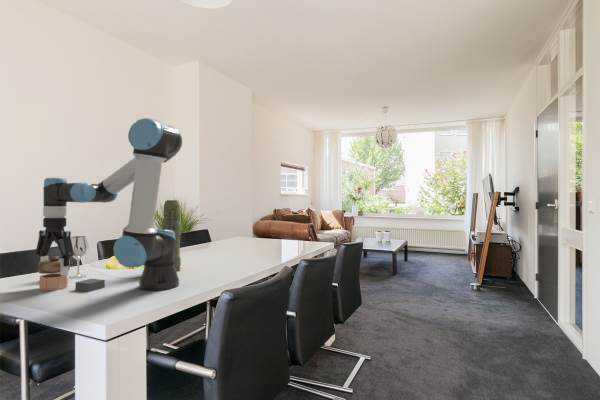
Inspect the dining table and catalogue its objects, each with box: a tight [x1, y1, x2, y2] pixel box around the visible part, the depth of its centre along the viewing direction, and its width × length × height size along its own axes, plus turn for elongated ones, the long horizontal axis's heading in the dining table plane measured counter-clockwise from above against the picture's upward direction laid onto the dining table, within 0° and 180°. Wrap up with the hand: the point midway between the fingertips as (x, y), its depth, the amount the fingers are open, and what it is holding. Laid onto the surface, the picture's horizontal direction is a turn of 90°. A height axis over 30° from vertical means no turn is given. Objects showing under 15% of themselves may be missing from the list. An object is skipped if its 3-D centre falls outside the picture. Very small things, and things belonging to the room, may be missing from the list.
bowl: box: [39, 273, 69, 292], centre depth 140 cm, size 9×9×5 cm
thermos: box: [161, 199, 182, 273], centre depth 177 cm, size 9×12×35 cm
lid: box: [38, 255, 71, 275], centre depth 140 cm, size 10×10×6 cm
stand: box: [74, 278, 106, 293], centre depth 140 cm, size 7×7×3 cm
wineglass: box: [69, 235, 90, 279], centre depth 161 cm, size 8×8×18 cm
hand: (54, 273), depth 140 cm, fingers closed on lid, 10 cm apart
